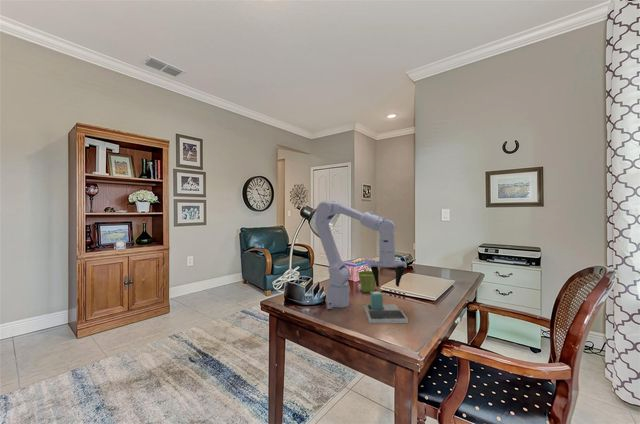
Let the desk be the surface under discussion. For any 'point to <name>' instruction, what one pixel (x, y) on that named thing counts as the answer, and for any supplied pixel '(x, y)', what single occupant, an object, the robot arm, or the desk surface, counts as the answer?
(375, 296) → the block
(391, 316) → the case
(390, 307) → the lid
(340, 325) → the desk surface
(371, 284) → the plant pot
